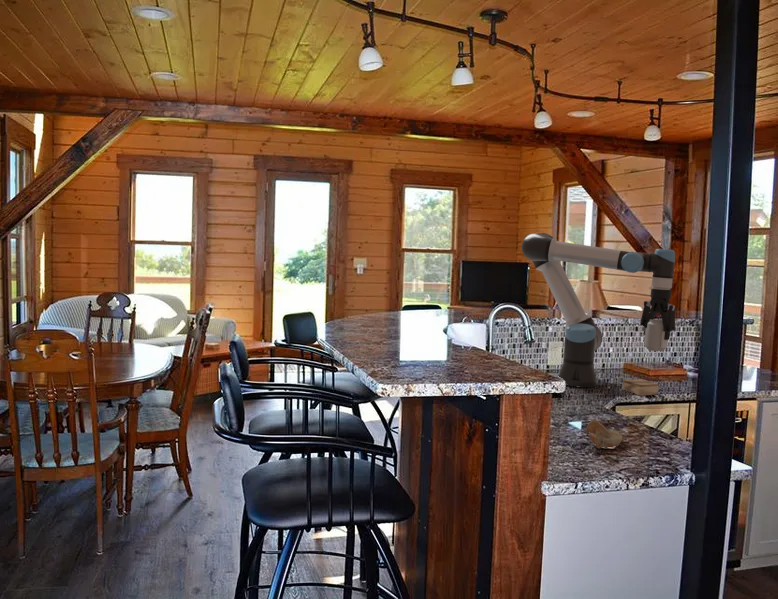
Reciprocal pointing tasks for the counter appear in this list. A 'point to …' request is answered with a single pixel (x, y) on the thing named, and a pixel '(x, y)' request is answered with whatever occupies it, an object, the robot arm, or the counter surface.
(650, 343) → the can
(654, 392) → the pedestal
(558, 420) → the counter surface
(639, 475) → the counter surface
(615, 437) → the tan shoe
